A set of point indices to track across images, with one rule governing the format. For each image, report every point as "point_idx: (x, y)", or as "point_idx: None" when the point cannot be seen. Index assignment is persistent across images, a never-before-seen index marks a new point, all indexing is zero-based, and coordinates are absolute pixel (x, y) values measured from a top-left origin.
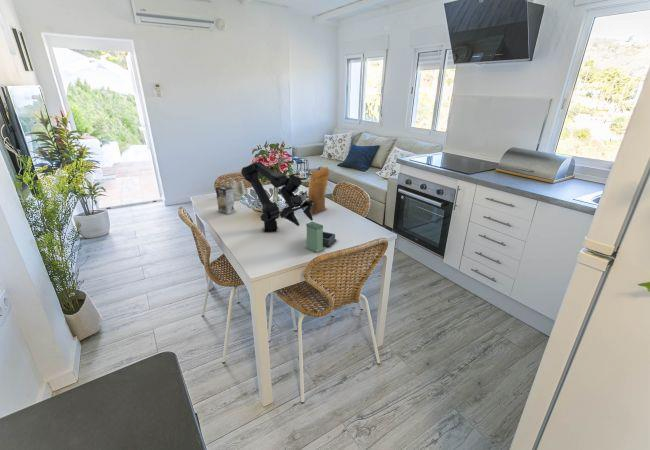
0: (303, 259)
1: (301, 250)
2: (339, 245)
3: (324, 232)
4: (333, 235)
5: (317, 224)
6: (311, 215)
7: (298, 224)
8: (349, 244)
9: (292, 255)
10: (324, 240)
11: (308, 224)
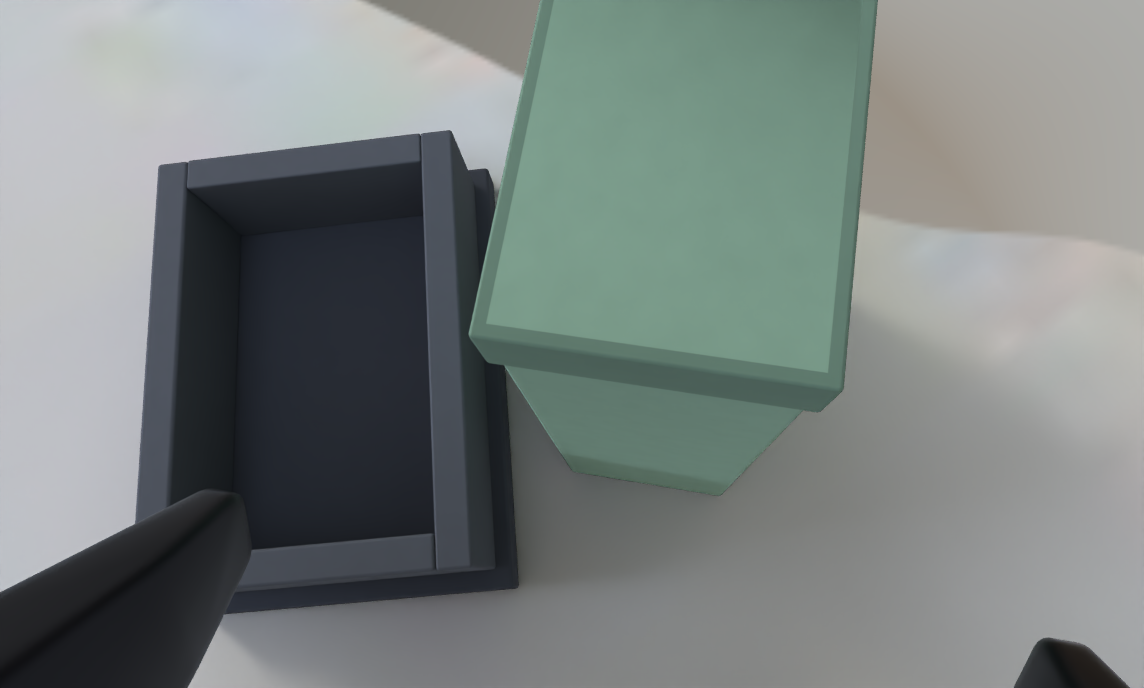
0: (1101, 295)
1: (867, 522)
2: (342, 98)
3: (172, 385)
4: (228, 160)
5: (619, 11)
6: (47, 594)
7: (1110, 684)
8: (240, 4)
9: (1136, 548)
10: (462, 232)
11: (834, 275)
